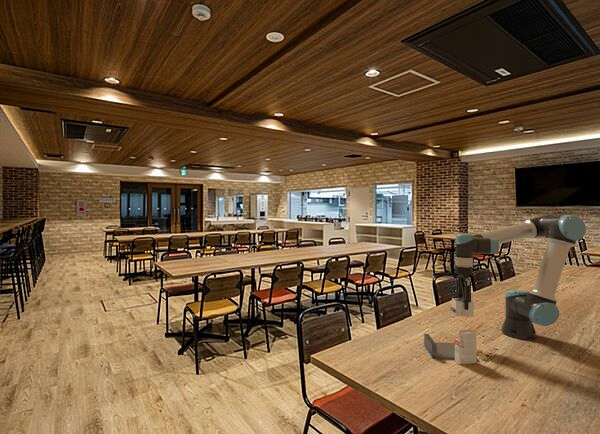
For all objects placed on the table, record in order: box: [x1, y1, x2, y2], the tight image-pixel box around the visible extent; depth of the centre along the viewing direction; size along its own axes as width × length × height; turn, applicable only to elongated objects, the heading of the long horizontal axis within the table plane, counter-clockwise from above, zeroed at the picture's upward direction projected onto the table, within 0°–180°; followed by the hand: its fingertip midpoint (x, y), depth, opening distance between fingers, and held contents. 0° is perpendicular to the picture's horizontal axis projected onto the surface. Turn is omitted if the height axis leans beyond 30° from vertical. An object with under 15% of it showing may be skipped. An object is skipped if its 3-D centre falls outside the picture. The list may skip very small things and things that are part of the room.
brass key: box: [476, 349, 488, 362], centre depth 149 cm, size 8×4×1 cm, turn 174°
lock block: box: [450, 297, 475, 318], centre depth 160 cm, size 9×6×7 cm
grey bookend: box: [423, 333, 455, 360], centre depth 153 cm, size 18×13×6 cm
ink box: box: [454, 329, 477, 365], centre depth 143 cm, size 4×8×15 cm, turn 96°
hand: (462, 313), depth 160 cm, fingers closed on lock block, 6 cm apart
